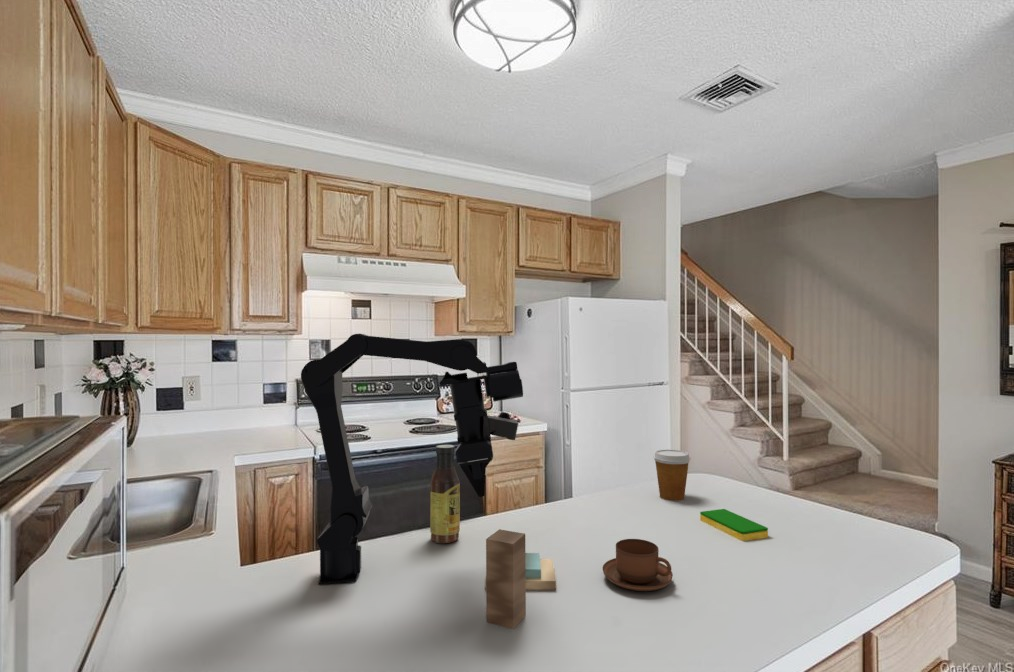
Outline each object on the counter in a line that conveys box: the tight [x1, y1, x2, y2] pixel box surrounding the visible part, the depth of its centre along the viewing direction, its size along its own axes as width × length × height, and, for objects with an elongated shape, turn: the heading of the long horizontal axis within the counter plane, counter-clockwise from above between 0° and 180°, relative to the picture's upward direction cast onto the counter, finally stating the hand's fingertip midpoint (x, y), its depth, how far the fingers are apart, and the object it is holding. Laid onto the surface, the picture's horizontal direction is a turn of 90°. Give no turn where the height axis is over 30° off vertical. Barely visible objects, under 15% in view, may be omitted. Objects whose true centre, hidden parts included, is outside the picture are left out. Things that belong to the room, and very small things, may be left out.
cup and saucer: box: [602, 538, 673, 592], centre depth 93 cm, size 12×12×6 cm
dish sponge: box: [699, 508, 769, 542], centre depth 119 cm, size 7×14×2 cm, turn 18°
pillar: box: [485, 528, 527, 630], centre depth 81 cm, size 4×4×12 cm
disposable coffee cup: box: [653, 448, 691, 502], centre depth 142 cm, size 10×10×12 cm
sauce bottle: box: [429, 444, 461, 544], centre depth 113 cm, size 7×6×20 cm
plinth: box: [484, 552, 557, 591], centre depth 94 cm, size 12×9×3 cm
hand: (481, 489), depth 97 cm, fingers open, 9 cm apart
